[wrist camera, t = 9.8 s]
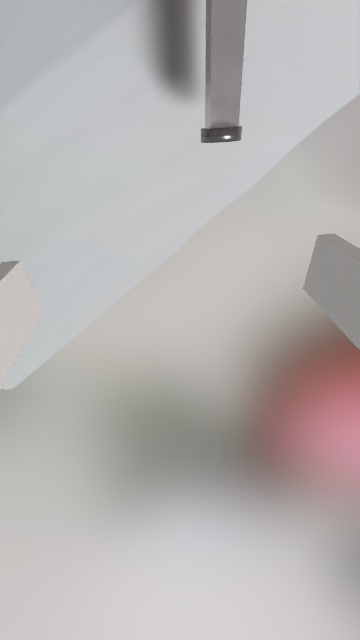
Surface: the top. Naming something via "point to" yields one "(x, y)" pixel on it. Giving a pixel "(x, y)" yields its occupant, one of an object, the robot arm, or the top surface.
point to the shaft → (223, 69)
